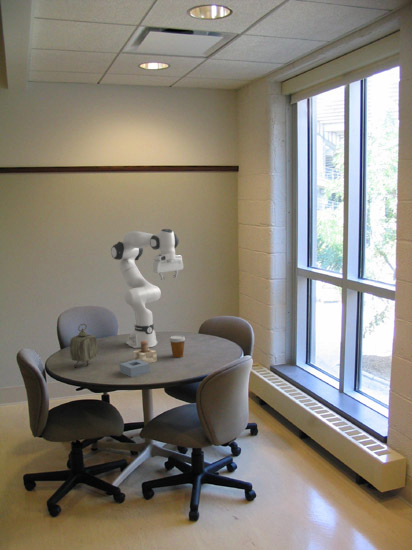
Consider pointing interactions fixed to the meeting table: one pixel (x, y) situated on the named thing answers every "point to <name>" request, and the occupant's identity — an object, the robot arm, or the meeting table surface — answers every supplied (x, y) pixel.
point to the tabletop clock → (83, 347)
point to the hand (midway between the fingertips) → (169, 278)
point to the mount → (145, 356)
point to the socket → (134, 368)
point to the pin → (144, 346)
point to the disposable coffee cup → (177, 345)
